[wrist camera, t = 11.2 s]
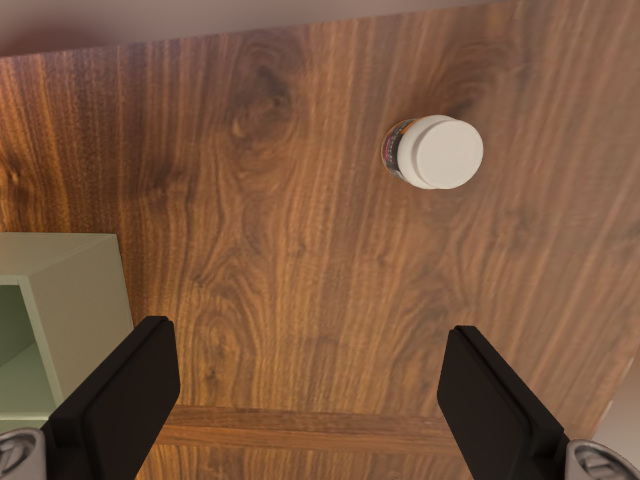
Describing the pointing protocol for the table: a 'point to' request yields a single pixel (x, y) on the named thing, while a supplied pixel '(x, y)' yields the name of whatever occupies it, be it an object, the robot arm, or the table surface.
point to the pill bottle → (432, 151)
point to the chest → (56, 316)
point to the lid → (20, 424)
